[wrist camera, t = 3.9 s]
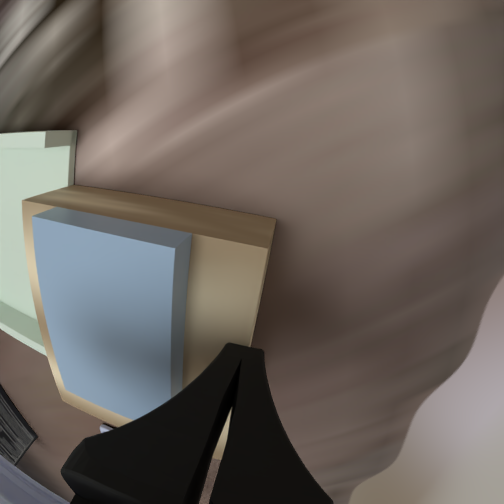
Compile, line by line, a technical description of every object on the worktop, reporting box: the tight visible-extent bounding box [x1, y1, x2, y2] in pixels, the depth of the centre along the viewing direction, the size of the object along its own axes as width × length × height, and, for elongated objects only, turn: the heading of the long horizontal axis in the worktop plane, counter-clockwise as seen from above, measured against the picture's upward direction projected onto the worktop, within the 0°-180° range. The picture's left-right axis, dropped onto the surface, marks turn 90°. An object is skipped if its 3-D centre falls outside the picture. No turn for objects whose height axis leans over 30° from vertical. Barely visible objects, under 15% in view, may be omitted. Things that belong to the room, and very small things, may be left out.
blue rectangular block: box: [32, 207, 192, 420], centre depth 11 cm, size 9×6×2 cm, turn 170°
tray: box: [0, 130, 77, 356], centre depth 15 cm, size 14×11×2 cm
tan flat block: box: [22, 185, 276, 460], centre depth 14 cm, size 13×11×4 cm
